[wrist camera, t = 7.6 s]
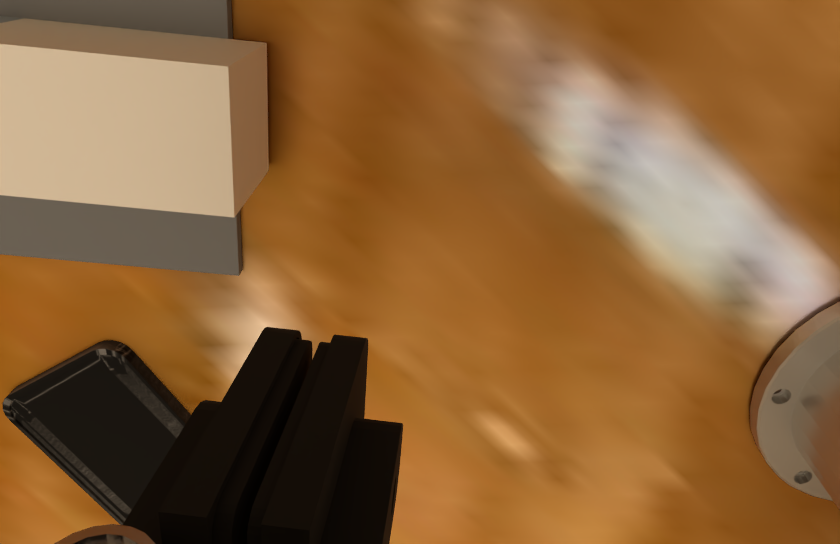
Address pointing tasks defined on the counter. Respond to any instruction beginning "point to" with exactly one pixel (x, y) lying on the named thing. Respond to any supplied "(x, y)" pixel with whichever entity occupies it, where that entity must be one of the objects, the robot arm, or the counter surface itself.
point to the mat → (112, 225)
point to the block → (131, 117)
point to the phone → (101, 422)
